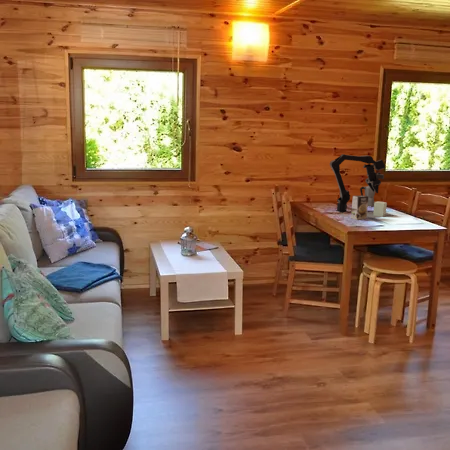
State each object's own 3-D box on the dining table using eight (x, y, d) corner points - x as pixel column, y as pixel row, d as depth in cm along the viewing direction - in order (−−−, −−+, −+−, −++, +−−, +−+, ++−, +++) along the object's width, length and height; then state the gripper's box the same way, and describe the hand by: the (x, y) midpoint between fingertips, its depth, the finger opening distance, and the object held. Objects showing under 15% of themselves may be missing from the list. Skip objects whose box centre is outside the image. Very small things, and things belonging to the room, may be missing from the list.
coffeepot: (373, 204, 429) (375, 183, 426) (379, 206, 420) (381, 184, 417) (356, 204, 426) (357, 182, 422) (361, 206, 417) (363, 184, 413)
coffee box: (356, 220, 361) (358, 196, 358) (350, 218, 367) (352, 195, 363) (366, 219, 365) (368, 196, 362) (360, 217, 371) (362, 195, 368)
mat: (372, 218, 368) (372, 217, 367) (354, 213, 385) (354, 212, 385) (398, 216, 378) (398, 216, 378) (379, 212, 396) (379, 211, 395)
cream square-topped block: (382, 216, 373) (383, 203, 371) (373, 215, 377) (374, 202, 375) (385, 215, 379) (386, 202, 377) (376, 214, 382) (377, 201, 380)
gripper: (385, 170, 379) (390, 191, 382) (377, 167, 397) (381, 187, 400) (370, 174, 379) (375, 195, 382) (363, 171, 397) (367, 191, 401)
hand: (375, 192), depth 391 cm, fingers open, 9 cm apart
